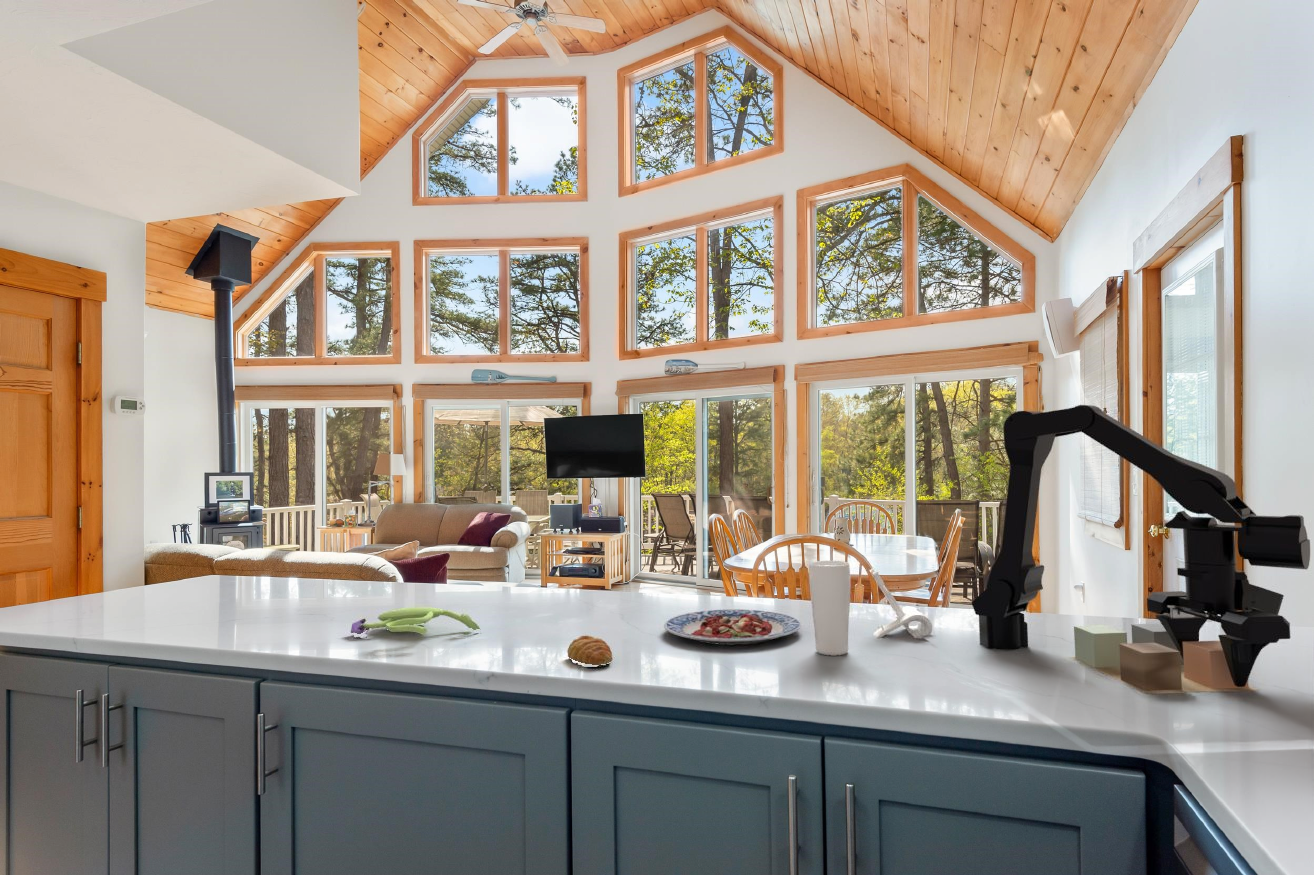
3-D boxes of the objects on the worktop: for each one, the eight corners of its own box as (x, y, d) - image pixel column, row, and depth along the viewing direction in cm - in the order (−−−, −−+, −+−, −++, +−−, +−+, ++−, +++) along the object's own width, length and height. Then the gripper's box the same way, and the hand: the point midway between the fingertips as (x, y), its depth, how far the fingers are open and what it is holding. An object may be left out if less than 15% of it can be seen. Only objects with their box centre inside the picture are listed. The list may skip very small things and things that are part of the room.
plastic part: (932, 639, 133) (930, 574, 133) (875, 638, 135) (873, 573, 135) (923, 629, 141) (921, 567, 141) (869, 628, 142) (867, 567, 142)
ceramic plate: (672, 619, 156) (672, 605, 156) (797, 620, 152) (797, 605, 152) (655, 651, 130) (654, 634, 130) (805, 653, 126) (804, 635, 127)
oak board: (1146, 699, 98) (1146, 693, 98) (1068, 662, 116) (1068, 657, 116) (1258, 695, 98) (1258, 689, 98) (1163, 659, 116) (1163, 654, 116)
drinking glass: (854, 658, 121) (850, 566, 122) (811, 657, 123) (808, 566, 123) (851, 647, 128) (848, 560, 128) (811, 647, 129) (808, 560, 130)
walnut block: (1144, 690, 99) (1143, 653, 99) (1120, 679, 104) (1119, 643, 104) (1182, 689, 99) (1180, 651, 99) (1156, 678, 104) (1154, 642, 104)
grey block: (1155, 665, 110) (1153, 631, 110) (1132, 656, 115) (1131, 624, 115) (1188, 664, 110) (1186, 630, 110) (1164, 655, 115) (1163, 623, 115)
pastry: (622, 666, 121) (622, 643, 121) (584, 673, 118) (583, 649, 118) (599, 654, 129) (599, 632, 129) (563, 660, 126) (562, 637, 126)
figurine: (403, 657, 131) (403, 625, 131) (333, 636, 149) (333, 608, 149) (490, 636, 145) (489, 608, 145) (417, 620, 163) (416, 594, 163)
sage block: (1094, 667, 110) (1093, 633, 110) (1075, 658, 115) (1073, 626, 115) (1128, 666, 110) (1126, 632, 110) (1107, 657, 115) (1105, 625, 115)
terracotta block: (1211, 688, 99) (1209, 650, 99) (1184, 677, 104) (1182, 641, 104) (1248, 687, 99) (1246, 649, 99) (1219, 676, 104) (1217, 640, 104)
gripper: (1330, 571, 93) (1336, 697, 92) (1215, 552, 112) (1220, 657, 111) (1242, 573, 93) (1248, 700, 92) (1142, 554, 111) (1147, 659, 111)
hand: (1215, 677), depth 102 cm, fingers open, 8 cm apart
